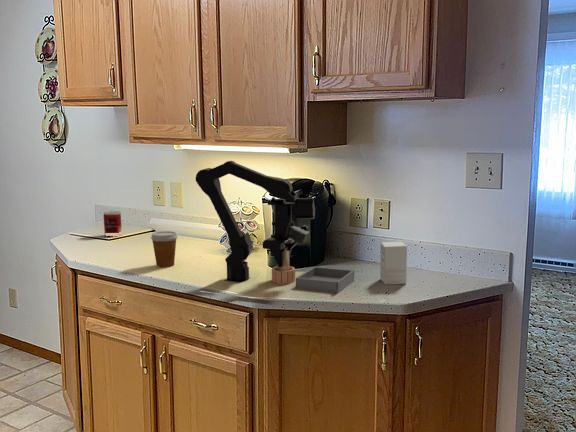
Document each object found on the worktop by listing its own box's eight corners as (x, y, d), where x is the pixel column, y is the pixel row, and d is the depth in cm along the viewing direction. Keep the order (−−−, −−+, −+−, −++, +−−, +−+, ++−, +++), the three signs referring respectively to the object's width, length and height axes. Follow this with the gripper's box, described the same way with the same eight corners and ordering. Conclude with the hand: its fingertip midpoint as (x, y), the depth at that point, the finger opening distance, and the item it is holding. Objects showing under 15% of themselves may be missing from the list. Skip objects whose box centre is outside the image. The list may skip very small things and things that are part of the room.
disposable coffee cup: (147, 265, 228) (145, 233, 226) (168, 261, 235) (167, 230, 233) (161, 269, 221) (160, 236, 219) (183, 265, 228) (182, 233, 226)
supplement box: (401, 278, 206) (402, 241, 204) (406, 284, 199) (407, 245, 197) (379, 278, 206) (380, 241, 204) (383, 284, 199) (384, 246, 197)
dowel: (275, 281, 202) (275, 251, 201) (280, 278, 206) (280, 249, 204) (286, 282, 201) (286, 252, 199) (291, 279, 204) (291, 249, 203)
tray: (295, 288, 195) (295, 278, 195) (314, 276, 209) (314, 266, 209) (337, 293, 189) (338, 282, 189) (354, 280, 204) (354, 270, 203)
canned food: (117, 233, 292) (116, 210, 291) (124, 235, 286) (123, 212, 285) (101, 235, 287) (100, 212, 286) (109, 238, 281) (107, 214, 280)
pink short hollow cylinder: (267, 283, 201) (267, 270, 201) (277, 278, 208) (277, 265, 208) (289, 286, 198) (289, 272, 197) (299, 280, 205) (299, 267, 205)
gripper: (294, 224, 188) (294, 274, 191) (316, 215, 205) (316, 261, 208) (261, 222, 193) (262, 271, 195) (285, 213, 210) (286, 258, 212)
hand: (283, 265), depth 202 cm, fingers closed on dowel, 4 cm apart
